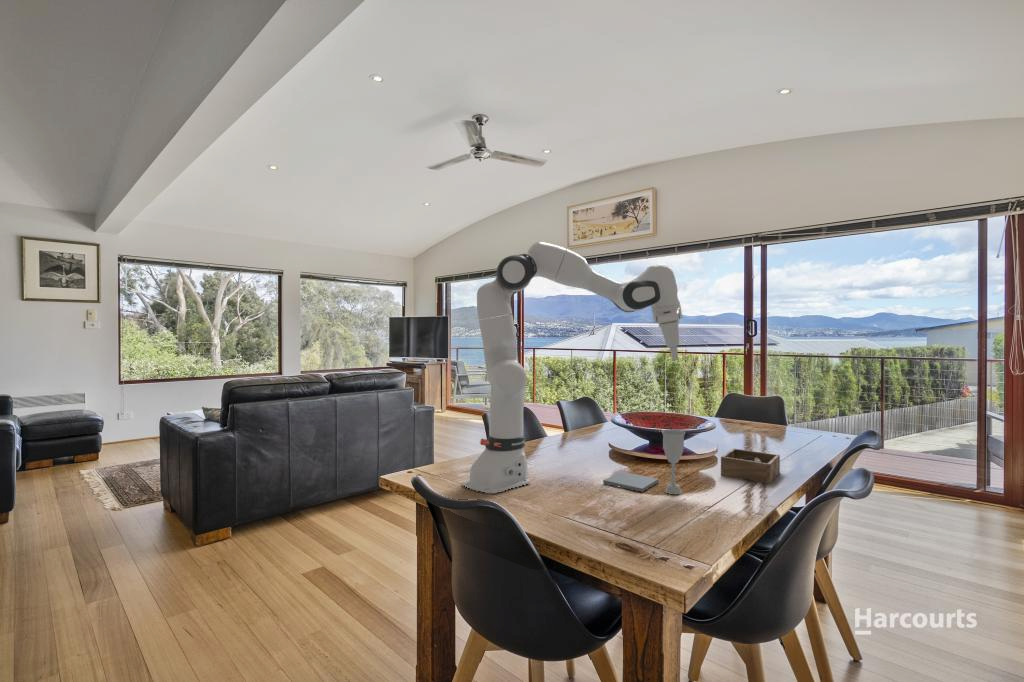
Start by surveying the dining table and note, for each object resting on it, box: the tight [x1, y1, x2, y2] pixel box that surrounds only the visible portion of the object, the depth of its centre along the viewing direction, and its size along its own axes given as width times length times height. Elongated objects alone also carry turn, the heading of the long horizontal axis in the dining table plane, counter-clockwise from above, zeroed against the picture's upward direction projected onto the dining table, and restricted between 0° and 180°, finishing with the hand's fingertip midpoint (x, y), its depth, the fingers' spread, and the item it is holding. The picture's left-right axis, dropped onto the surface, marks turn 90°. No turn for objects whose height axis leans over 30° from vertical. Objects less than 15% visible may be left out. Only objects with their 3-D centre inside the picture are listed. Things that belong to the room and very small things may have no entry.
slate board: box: [602, 470, 660, 493], centre depth 152 cm, size 12×13×1 cm
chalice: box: [661, 428, 686, 495], centre depth 144 cm, size 7×7×18 cm
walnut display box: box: [720, 448, 781, 484], centre depth 162 cm, size 15×15×6 cm
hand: (675, 357), depth 155 cm, fingers open, 8 cm apart
